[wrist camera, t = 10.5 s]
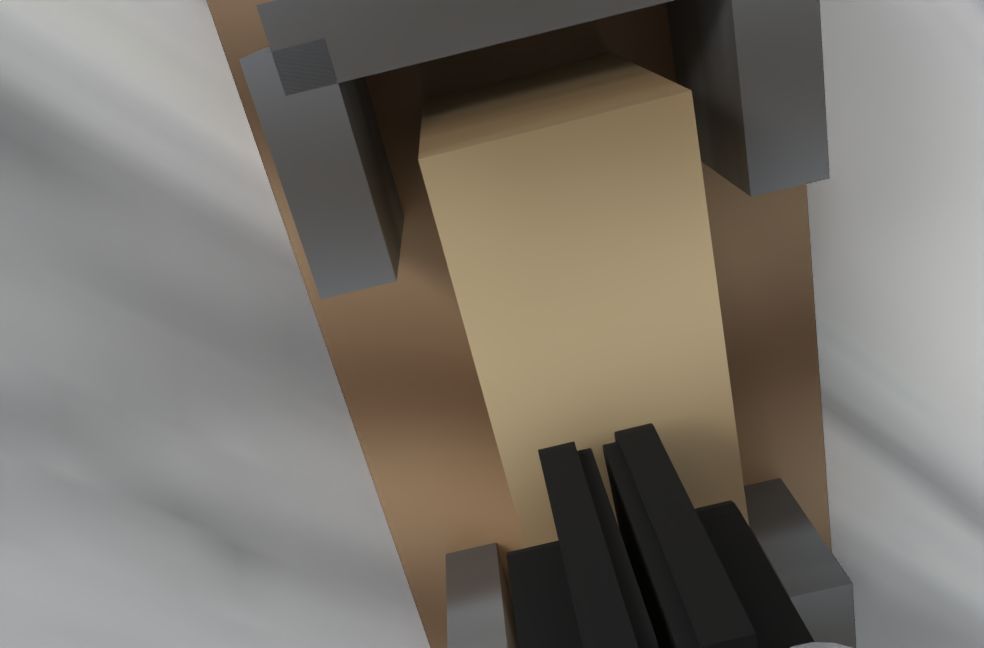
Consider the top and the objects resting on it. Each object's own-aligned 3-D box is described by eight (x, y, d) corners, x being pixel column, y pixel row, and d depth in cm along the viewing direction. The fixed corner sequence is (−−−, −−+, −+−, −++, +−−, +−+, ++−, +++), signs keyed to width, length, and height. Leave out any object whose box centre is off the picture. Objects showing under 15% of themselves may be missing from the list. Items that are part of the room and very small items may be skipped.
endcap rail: (210, -32, 15) (122, -33, 10) (759, -170, 14) (890, -226, 10) (452, 682, 22) (457, 848, 18) (819, 600, 22) (910, 749, 17)
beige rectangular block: (423, 101, 15) (418, 159, 10) (611, 52, 15) (691, 90, 10) (555, 596, 20) (591, 787, 15) (696, 564, 19) (778, 746, 15)
